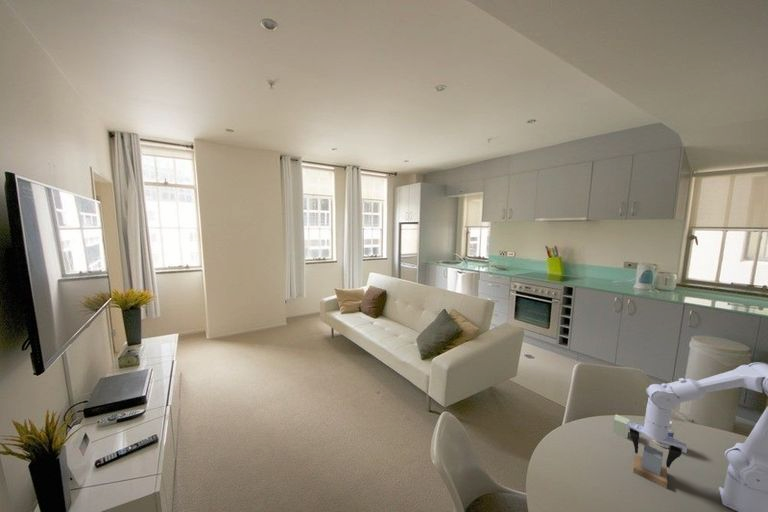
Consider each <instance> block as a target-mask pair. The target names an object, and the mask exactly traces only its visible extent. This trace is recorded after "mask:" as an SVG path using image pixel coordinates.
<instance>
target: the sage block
mask: <svg viewBox="0 0 768 512" xmlns="http://www.w3.org/2000/svg"><path fill="white" fill-rule="evenodd" d="M627 421H628V422H631V419H629V418H626V417H624V416H621V415H619V414H616V413H615V415H614V419H613V426H612V434H614V433H615V434H614V435H616V436H618V437H621V438H623V439H626V440H628V437H629V430H628V429H626V423H627Z"/></svg>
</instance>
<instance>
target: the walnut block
mask: <svg viewBox="0 0 768 512" xmlns="http://www.w3.org/2000/svg"><path fill="white" fill-rule="evenodd" d="M642 458H643V456H640V455H638V454H637V453H634V459H633V470H632V473H633V474H635V475H637V476H639V477H641V478H643V479H646V480H648V481H649V482H652V483H654V484H656V485H658V486H661V487H662V488H664V489H667V488H668V470H667V468H668V467H665V466H664V465H661V471H660V476H659V475H657V474H655V473H653V472H651V471H648V470H646V469H644V468H642V467H641V465H642Z"/></svg>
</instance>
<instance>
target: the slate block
mask: <svg viewBox="0 0 768 512" xmlns="http://www.w3.org/2000/svg"><path fill="white" fill-rule="evenodd" d="M663 456H664V452H663V451H661V450H660V449H657V448H655V447H652V446H650V445H647V444H645V443H644V447H643V452H642V457H643V458H642V465H641V467H642V468H644V469H646V470H648V471H651V472H653V473H655V474H657V475H659V476H660V471H661V466H663V464H662V463H663V458H664V457H663Z"/></svg>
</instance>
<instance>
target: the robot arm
mask: <svg viewBox="0 0 768 512" xmlns="http://www.w3.org/2000/svg"><path fill="white" fill-rule="evenodd" d="M736 388H745V389H748V390H751V391H755V392H758V393H761V394H762V393H765V394H766V396H767V397H768V363H765V362H759V361H758V362H751V363H749V364H742V365H739V366H738V367H736V368H735V369H732V370H728V371H726V372H721V373H718V374H715V375H712V376H709V377H705V378H702V379H699V380H696V379H691V378H690V377H689V378H683V377H681V378H678V380H677V381H672V382H667V383H665V382H664V383H661V384H658V383H652V384H650V385H649V386H648V387H647V388H645V392H646V394H647V395H648V400H647V404H646V410H645V416H644V425H643V424H639V423H635V422H631V421H630V422H628V421H627V423H626V429H628V431H629V436H630V438H631V441H632V444H633V446H634V454H636V455H638V453H639V439H640V434H641V435H643V436H646V437H647V438H649V439H651V440H652V441H653V440H655V441H658V442H662V443H665V444H668V445H669V448H668V454H667V457H666V462H665V464H666V468H670V467H671V465H672V463H673V462H674V461H676V459H678V458H680V457H681V456H682V453H684V454H687V453H688V444H687V443H684V442H682V441H680V440H678V439H676V438H675V437H673V438H672V437H670V436H668V431H669V424H670V421H671V416H672V410H674V409H675V408H676V407H677V406H678V405H679V404H681V403H685V402H690V401H695V400H700V399H705V396H706V393H710V392H717V391H724V390H730V389H736ZM724 458H725V460H726V461H727V462H728V467H727V470H726V475H725V480H724V486H723V487H721V486H718V487H719V488H718V490H719V494H720V498H721V503H722V505H723V506H724V507H728V508H729V509H732V510H734V511H736V512H768V405H767V406H766V408H765V409H764V411H763V413H762V414H761V416H760V417H759V419H758V421H757V422H756V424H754V427H753V429H752V430H751V432H750V434H749V435H748V436H747V438H746V440H745V441H744V442H736V443H735V445H734V446H732V447H730V448H728V449H726V450H725V452H724Z"/></svg>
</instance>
